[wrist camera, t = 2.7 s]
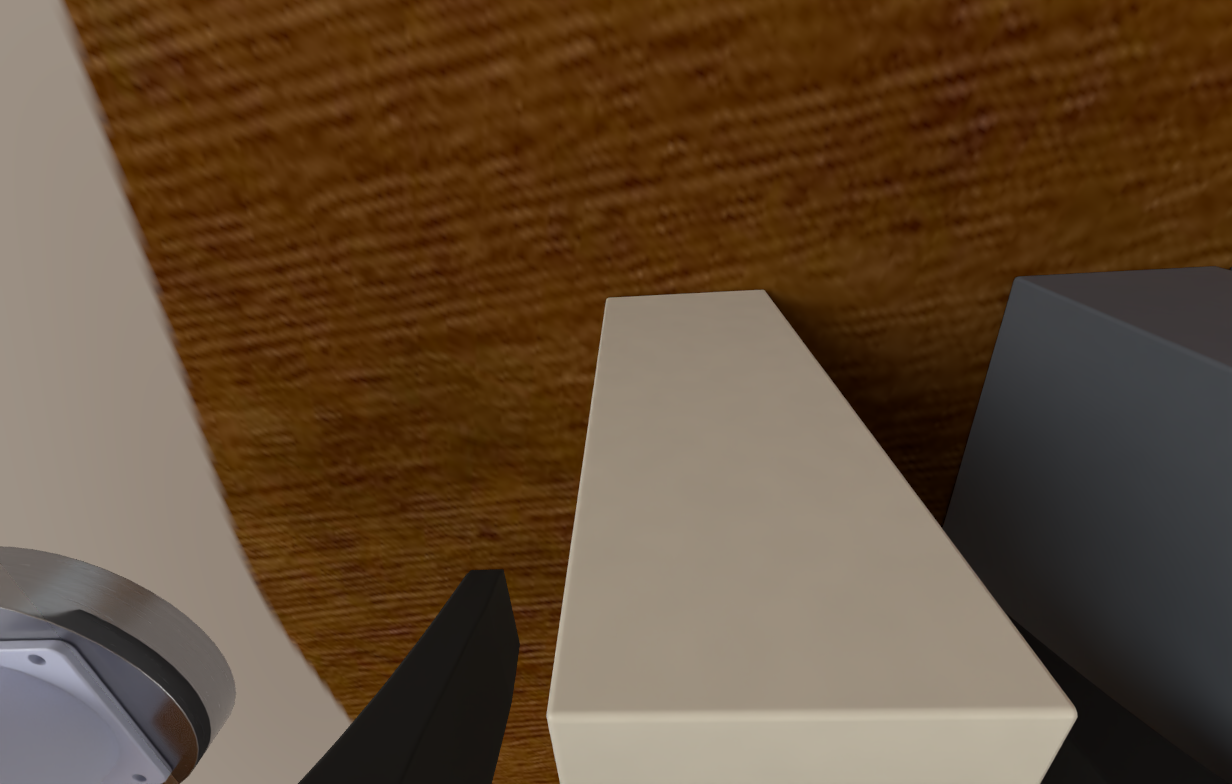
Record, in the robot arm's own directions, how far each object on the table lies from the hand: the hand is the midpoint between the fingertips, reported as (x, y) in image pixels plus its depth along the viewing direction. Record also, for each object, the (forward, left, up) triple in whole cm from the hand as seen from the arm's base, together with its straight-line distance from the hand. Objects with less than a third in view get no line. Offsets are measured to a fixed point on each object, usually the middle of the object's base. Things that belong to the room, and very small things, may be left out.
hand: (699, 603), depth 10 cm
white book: (0, 0, -3) cm, 3 cm away
